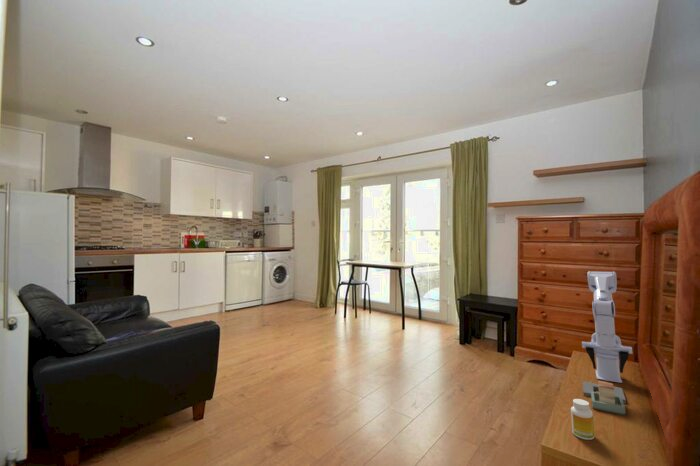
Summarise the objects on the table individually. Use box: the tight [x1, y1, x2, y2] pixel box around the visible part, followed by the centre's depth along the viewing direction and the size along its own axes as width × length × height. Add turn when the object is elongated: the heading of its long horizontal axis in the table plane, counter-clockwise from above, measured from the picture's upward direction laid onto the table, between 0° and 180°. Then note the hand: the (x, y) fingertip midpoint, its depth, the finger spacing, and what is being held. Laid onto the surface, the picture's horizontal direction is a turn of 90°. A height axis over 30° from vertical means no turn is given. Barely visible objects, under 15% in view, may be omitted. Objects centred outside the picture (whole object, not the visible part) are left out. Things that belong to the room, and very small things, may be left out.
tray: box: [590, 391, 626, 416], centre depth 110 cm, size 9×9×2 cm
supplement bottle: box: [570, 398, 595, 441], centre depth 95 cm, size 5×5×10 cm
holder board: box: [582, 380, 627, 404], centre depth 119 cm, size 11×12×1 cm
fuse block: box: [597, 380, 615, 405], centre depth 110 cm, size 4×4×7 cm
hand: (607, 369), depth 118 cm, fingers open, 7 cm apart
